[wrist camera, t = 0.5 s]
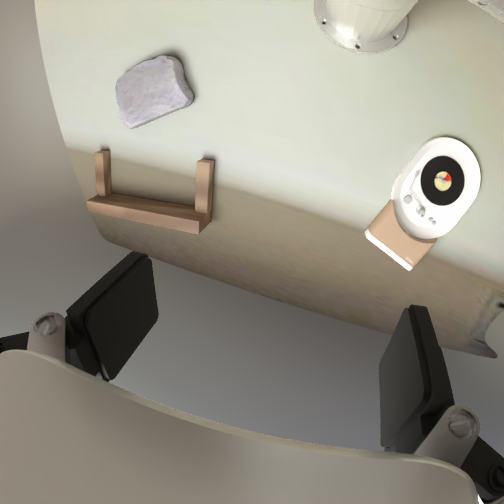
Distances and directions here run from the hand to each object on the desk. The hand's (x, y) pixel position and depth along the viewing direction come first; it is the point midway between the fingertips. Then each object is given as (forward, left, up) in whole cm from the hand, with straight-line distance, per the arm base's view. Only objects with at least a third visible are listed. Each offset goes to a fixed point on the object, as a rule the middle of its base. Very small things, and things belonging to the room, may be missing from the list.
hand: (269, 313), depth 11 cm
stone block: (-7, -26, -35) cm, 44 cm away
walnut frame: (+8, -26, -34) cm, 44 cm away
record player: (+2, +17, -35) cm, 39 cm away
